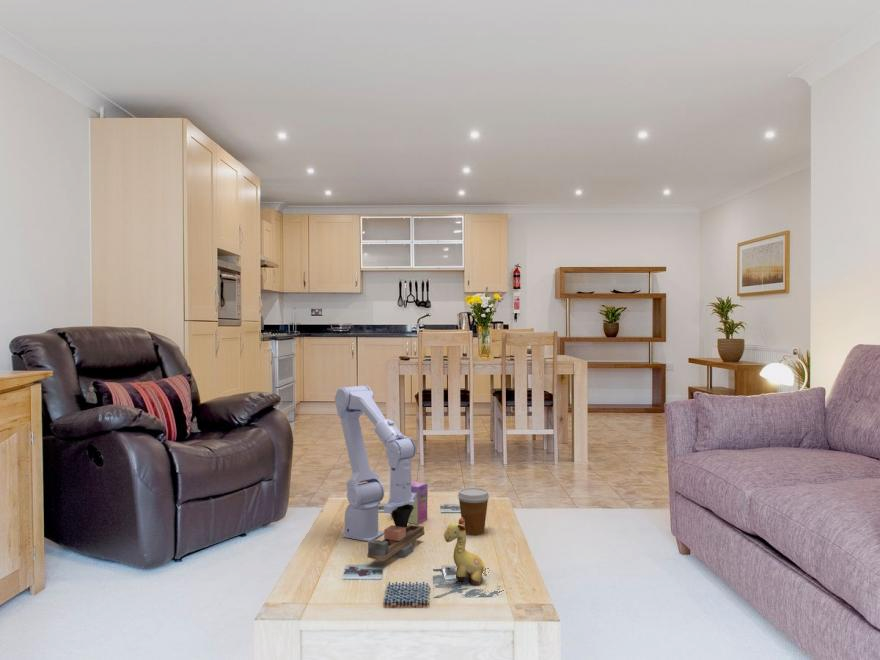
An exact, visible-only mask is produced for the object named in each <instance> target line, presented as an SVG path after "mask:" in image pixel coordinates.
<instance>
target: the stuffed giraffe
mask: <svg viewBox="0 0 880 660" xmlns="http://www.w3.org/2000/svg"><path fill="white" fill-rule="evenodd" d="M464 521H465V520H464V519H463V517H461V516H460V518H459V519H458V522H452V523H450V524H448V526H447V528H446V530H445V531H444V534H443V538H444V541H445V542H446V543H450V542H453V541H454V540H456V544H455V546H454V551H453V561H454V562H453V563H454V564H455V566H456V568H457V572H456V578H454V580H455V581H454V582H449V581H446V580H445V578H444V574H437V575H436V574H435V575H432V586H433V588H432V590H435V589H451V590H449V591H448V592H445V593H442V594H438V595H436V596H434V597H433V598H434V599H435V598H443V597H446V596H448V595H452V594H455V593H457V594H460V596H461V597H464V598H476V597H477V598H486V597H487V598H489V597H490V598H493V597H492V596H493V595H494V594H498V593H500V592H502V591H504V590H502V591H499V592H498V591H495V590H493V591H494V592H492V591H490V592H489V593H490V594H488V595H486V594H487V592H486V591H487V590H486V589H487V588H485V587H484V589H483V588H473V589H471V590H468V591H466V592H465V593H464V590H467V589H469V587H464V588H463V587H462V586H467V585H472V586H474V587H475V586H478V585H480V584H481V581H482V580H483V576H485V577H487V574H486V568H487V569H489V568H490V567H485V562H484V561H483V560H482V558H481V557H479V556H478V555H476V554H475V553H471V552H469V551H467V550H466V543H467V534H466V531H465V522H464ZM442 569H443V568H435V569H432V571H433V572H437V573H438V572H440V573H443V572H442ZM483 571H484V573H483ZM482 573H483V574H484V575H483V576H482ZM484 591H485V592H484Z"/></svg>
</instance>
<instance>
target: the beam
mask: <svg viewBox="0 0 880 660" xmlns="http://www.w3.org/2000/svg"><path fill="white" fill-rule="evenodd" d="M424 535H425V528H424V526H423V525H419V524H412V523H408V524H407V528H406V537H404V538H403V539H401V540H399V541H396V542H394V543H393V544H389V539H384V538H383V539H382V540H380V539H373V540H371V541H367V555H366V556H367V558H368V559H372V560H373V559H374V560H379V561H386V560H387V559H389V558H391V557H396V558H402V559H405V558H406V557H408V556H409V555H411V554H412V553H414V544H413V543H414V542H415V541H417V540H418V539H420V538H421V537H422V536H424Z"/></svg>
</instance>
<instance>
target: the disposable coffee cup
mask: <svg viewBox="0 0 880 660" xmlns="http://www.w3.org/2000/svg"><path fill="white" fill-rule="evenodd" d="M457 498H458V500H459V501H458V503H459V511H460V518H461V517H463V519H464V520H465V521H464V522H465V531H466V535H469V536H480V535H482V534H485V527H486V519H487V517H486V516H487V510H488V502H489V499H490V494H489V492H488V490H487V489H483V488H482V487H481V488H480V487H468V488H463V489H462V488H461V489H460V490H459V491H458V494H457Z"/></svg>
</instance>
